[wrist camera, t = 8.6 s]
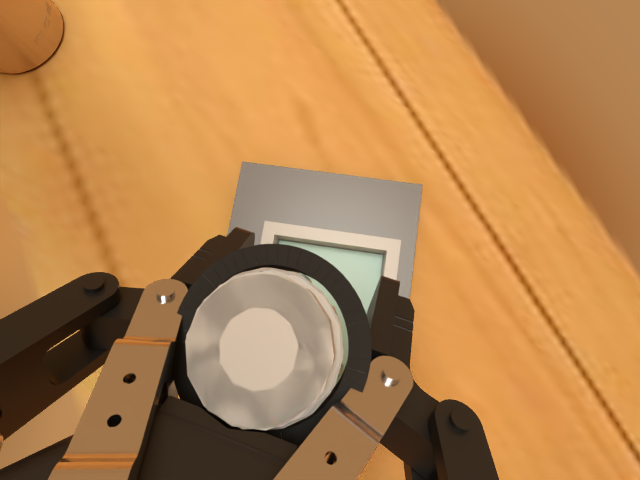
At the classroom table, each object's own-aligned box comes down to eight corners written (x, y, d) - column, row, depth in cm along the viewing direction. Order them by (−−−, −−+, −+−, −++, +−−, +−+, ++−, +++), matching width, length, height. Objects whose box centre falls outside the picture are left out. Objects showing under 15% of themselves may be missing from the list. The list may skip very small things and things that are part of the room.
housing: (199, 392, 30) (178, 404, 27) (245, 165, 34) (232, 147, 30) (393, 427, 29) (401, 445, 25) (420, 188, 33) (430, 171, 29)
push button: (237, 272, 19) (113, 233, 9) (332, 235, 19) (305, 157, 9) (278, 400, 18) (183, 509, 8) (381, 361, 18) (411, 424, 8)
